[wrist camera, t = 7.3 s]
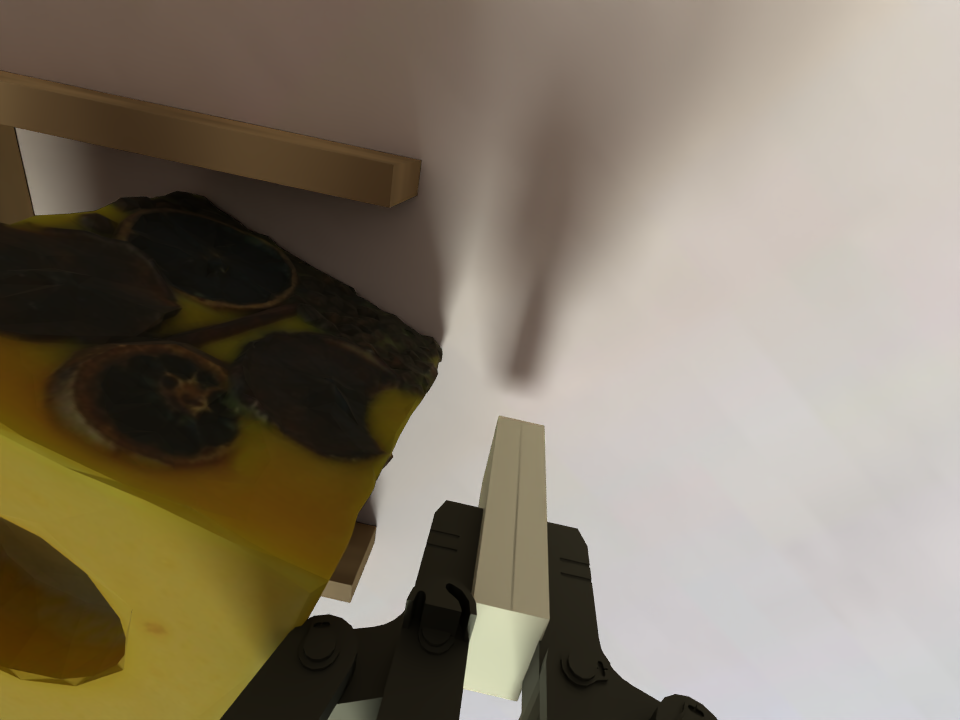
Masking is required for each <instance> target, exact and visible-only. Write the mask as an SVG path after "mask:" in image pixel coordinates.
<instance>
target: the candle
mask: <svg viewBox="0 0 960 720" xmlns="http://www.w3.org/2000/svg"><path fill="white" fill-rule="evenodd" d="M441 361H442V349H441V348H440V346H439V345H438V344H437V342H436V341H435V340H434V338H433V337H428V336H422V335H420V334H419V333H417V332H416V331H415V330H414V329H412V328H410V327H408V326H407V325H406V324H405V323H403V322H402V321H401V320H400V319H399V318H398V317H397V316H395V315H392V314H389V313H386V312H384V311H381V310H380V309H379V308H377V307H376V306H375V305H373V304H371V303H370V302H368V301H367V300H365V299H363V298H361V297H359V296H357V294H356V292H355V290H354V288H352V287H349V286H347V285H345V284H343V283H341V282H339V281H338V280H336V279H334V278H332V277H330V276H328V275H326V274H325V273H323V272H321V271H319V270H317V269H315V268H314V267H312V266H310V265H309V264H307V263H305V262H304V261H302V260H300V259H298V258H297V257H295V256H293V255H292V254H290V253H288V252H286V251H285V250H283V249H281V248H279V247H278V246H277V245H276V244H275V243H274V242H273V241H272V240H271V239H270V238H269V237H268V236H265V235H261V234H258V233H255V232H252V231H249V230H248V229H247V228H246V227H244V226H243V225H242V224H241V223H239V222H238V221H236V220H235V219H234V218H232V217H231V216H229V215H228V214H226V213H224V212H222V211H220V210H218V209H217V208H216V207H215V206H214V205H213V204H212V203H210V202H209V201H208V200H207V199H206V198H205V197H203V196H199V195H195V194H191V193H187V192H180V191H176V192H173V193H170V194H168V195H166V196H160V197H154V198H148V197H125V198H120V199H119V200H117V201H116V202H114V203H112V204H110V205H107V206H105V207H103V208H101V209H98V210H96V211H89V212H80V213H71V214H55V215H35V216H32V217H30V218H27V219H24V220H21V221H18V222H15V223H13V224H10V225H9V224H5V223H1V222H0V720H220V718H221V717H222V716H223V715H224V713H225V712H226V711H227V710H228V708H229V707H230V706H231V705H232V703H233V702H234V701H235V700H236V698H237V697H238V696H239V695H240V693H241V692H242V691H243V690H244V688H245V687H246V686H247V685H248V683H249V682H250V681H251V680H252V678H253V677H254V676H255V675H256V673H257V672H258V671H259V670H260V668H261V667H262V666H263V665H264V663H265V662H266V661H267V660H268V658H269V657H270V656H271V655H272V653H273V652H274V651H275V650H276V648H277V647H278V646H279V645H280V643H281V642H282V641H283V640H284V638H285V637H286V636H287V635H288V633H289V632H290V631H291V630H293V629H294V628H295V627H298V626H302V625H303V624H304V622H305V621H306V620H307V619H308V618H309V616H310V614H311V612H312V611H313V609H314V607H315V605H316V603H317V602H318V600H319V598H320V596H321V594H322V593H323V591H324V589H325V587H326V585H327V584H328V582H329V580H330V578H331V576H332V575H333V573H334V571H335V569H336V567H337V565H338V564H339V562H340V560H341V558H342V556H343V554H344V553H345V551H346V549H347V547H348V544H349V541H350V539H351V536H352V533H353V529H354V526H355V522H356V519H357V515H358V513H359V512H360V510H361V509H362V507H363V506H364V504H365V503H366V501H367V500H368V498H369V497H370V495H371V493H372V491H373V489H374V487H375V483H376V480H377V479H378V477H379V475H380V472H381V470H382V469H383V468H384V467H385V466H386V465H387V464H388V463H389V461H390V460H391V459H392V458H393V455H392V452H393V449H394V447H395V445H396V442H397V440H398V438H399V436H400V434H401V432H402V431H403V429H404V427H405V425H406V423H407V422H408V420H409V418H410V416H411V415H412V413H413V412H414V410H415V409H416V408H417V406H418V405H419V404H420V402H421V401H422V399H423V398H424V396H425V394H426V393H427V392H428V391H429V389H430V388H431V386H432V384H433V383H434V381H435V379H436V377H437V375H438V371H437V368H438V363H439V362H441Z"/></svg>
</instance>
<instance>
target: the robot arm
mask: <svg viewBox="0 0 960 720" xmlns="http://www.w3.org/2000/svg"><path fill="white" fill-rule="evenodd" d="M589 565H590V564H589V556H588V548H587V545H586V543H585V541H584V539H583V538H582V536H581V534H580V532H579V530H578V529H576V528H572V527H568V526H563V525H559V524H554V523H550V522H547V503H546V466H545V429H544V426H543V425H539V424H534V423H530V422H526V421H521V420H517V419H512V418H508V417H503V416H499V417H498V421H497V425H496V429H495V433H494V437H493V441H492V445H491V449H490V453H489V457H488V461H487V466H486V470H485V474H484V478H483V482H482V488H481V494H480V500H479V507H474V506H470V505H465V504H461V503H457V502H452V501H448V500H446V501H445V502H444V504H443V505H442V506H441V507H440V508H439V509H438V510H437V511H436V512H435V514H434V518H433V522H432V525H431V529H430V533H429V536H428V540H427V544H426V547H425V551H424V555H423V558H422V562H421V565H420V569H419V573H418V576H417V580H416V584H415V587H413V589H412V591H411V592H410V594H409V596H408V598H407V602H406V607H405V610H404V612H403V613H402V614H401V615H400V616H398V617H397V618H396V619H395V620H393V621H391V622H389V623H387V624H384V625H380V626H375V627H368V628H358V629H353V628H352V626H351V625H350V624H348V623H347V622H346V621H345V620H344V619H342V618H340V617H336V616H333V615H329V614H328V615H318V616H313V617H311V618H309V619H307V620H306V621H305V622H304V624H303V625H302V626H298V627H295V628H294V629H293V630H291V631H290V632H289V633H288V635H287V636H286V637H285V638H284V640H283V641H282V642H281V643H280V645H279V646H278V647H277V648H276V650H275V651H274V652H273V653H272V655H271V656H270V657H269V658H268V660H267V661H266V662H265V663H264V665H263V666H262V667H261V668H260V670H259V671H258V672H257V673H256V675H255V676H254V677H253V678H252V680H251V681H250V682H249V683H248V685H247V686H246V687H245V688H244V690H243V691H242V692H241V693H240V695H239V696H238V697H237V698H236V700H235V701H234V702H233V703H232V705H231V706H230V707H229V708H228V710H227V711H226V712H225V713H224V715H223V716H222V717H221V718H220V720H459V715H460V708H461V700H462V693H463V689H466V690H471V691H475V692H479V693H483V694H488V695H492V696H496V697H501V698H505V699H509V700H513V701H517V700H518V698H519V695H520V693H521V690H522V713H521V715H520V718H519V720H717V718H716V717H715V716H714V715H713V714H712V713H711V712H710V711H709V710H708V709H707V708H706V707H705V706H704V705H702V704H701V703H699V702H697V701H695V700H694V699H692V698H690V697H688V696H683V695H677V694H674V695H671V696H668V697H665V698H664V699H663V700H662V702H660V701H658V700H656V699H655V698H653V697H651V696H649V695H648V694H646V693H644V692H643V691H641V690H639V689H637V688H636V687H634V686H632V685H631V684H629V683H628V682H627V681H625V680H624V679H622V678H621V677H620V676H619V675H618V674H617V673H616V672H615V671H614V670H613V668H612V667H611V665H610V662H609V661H608V659H607V658H606V656H605V655H604V653H603V651H602V649H601V646H600V641H599V636H598V628H597V620H596V612H595V604H594V596H593V588H592V583H591V572H590V568H589Z"/></svg>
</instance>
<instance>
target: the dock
mask: <svg viewBox="0 0 960 720" xmlns="http://www.w3.org/2000/svg"><path fill="white" fill-rule="evenodd" d="M14 127H16V128H21V129H26V130H30V131H35V132H40V133H44V134H49V135H54V136H58V137H63V138H67V139H72V140H77V141H81V142H86V143H91V144H95V145H100V146H105V147H109V148H114V149H119V150H123V151H128V152H133V153H137V154H142V155H146V156H151V157H156V158H160V159H165V160H170V161H174V162H179V163H184V164H188V165H193V166H198V167H202V168H207V169H211V170H216V171H221V172H225V173H230V174H235V175H239V176H244V177H249V178H253V179H258V180H263V181H267V182H272V183H277V184H281V185H286V186H290V187H295V188H300V189H304V190H309V191H314V192H318V193H323V194H328V195H332V196H337V197H342V198H346V199H351V200H355V201H360V202H365V203H369V204H374V205H379V206H383V207H388V208H390V207H392V206H395V205H397V204H399V203H401V202H404V201H406V200H408V199H410V198H412V197H415V196H417V193H418V185H419V177H420V169H421V160H417V159H412V158H408V157H403V156H398V155H394V154H389V153H384V152H380V151H375V150H370V149H365V148H361V147H356V146H351V145H347V144H342V143H337V142H333V141H328V140H323V139H319V138H314V137H309V136H305V135H300V134H295V133H290V132H286V131H281V130H276V129H272V128H267V127H262V126H258V125H253V124H248V123H244V122H239V121H234V120H230V119H225V118H220V117H215V116H211V115H206V114H201V113H197V112H192V111H187V110H183V109H178V108H173V107H169V106H164V105H159V104H155V103H150V102H145V101H140V100H136V99H131V98H126V97H122V96H117V95H112V94H108V93H103V92H98V91H94V90H89V89H84V88H80V87H75V86H70V85H65V84H61V83H56V82H51V81H47V80H42V79H37V78H33V77H28V76H23V75H19V74H14V73H9V72H5V71H0V222H1V223H5V224H9V225H10V224H13V223H15V222H18V221H21V220H24V219H27V218H30V217H32V216H34V214H33V210H32V205H31V201H30V196H29V192H28V188H27V183H26V179H25V175H24V170H23V166H22V161H21V157H20V153H19V148H18V144H17V139H16V135H15V131H14ZM375 533H376V526H371V525H367V524H362V523H358V522H355V526H354V529H353V533H352V536H351V539H350V541H349V544H348V547H347V549H346V551H345V553H344V554H343V556H342V558H341V560H340V562H339V564H338V565H337V567H336V569H335V571H334V573H333V575H332V576H331V578H330V580H329V582H328V584H327V585H326V587H325V589H324V591H323V593H322V594H321V596H322V597H327V598H331V599H336V600H340V601H344V602H349V603H350V602H351V600H352V597H353V595H354V592H355V590H356V587H357V585H358V582H359V580H360V577H361V575H362V572H363V570H364V567H365V565H366V562H367V560H368V557H369V555H370V552H371V550H372V547H373V545H374V541H375Z"/></svg>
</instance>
